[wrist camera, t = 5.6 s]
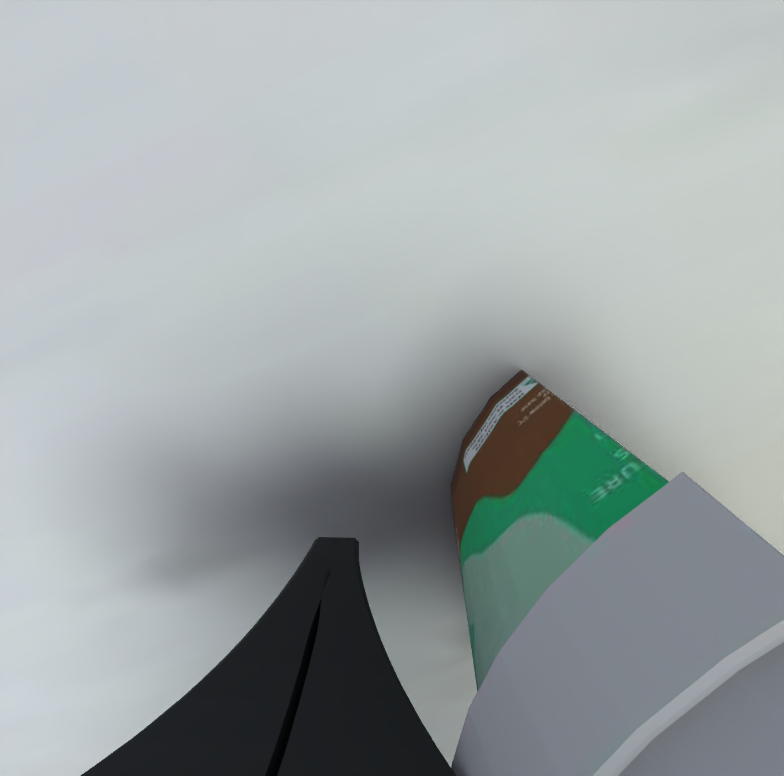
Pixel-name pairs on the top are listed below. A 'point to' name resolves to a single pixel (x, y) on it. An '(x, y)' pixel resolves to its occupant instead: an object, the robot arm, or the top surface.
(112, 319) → the top surface
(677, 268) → the top surface
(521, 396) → the food container
